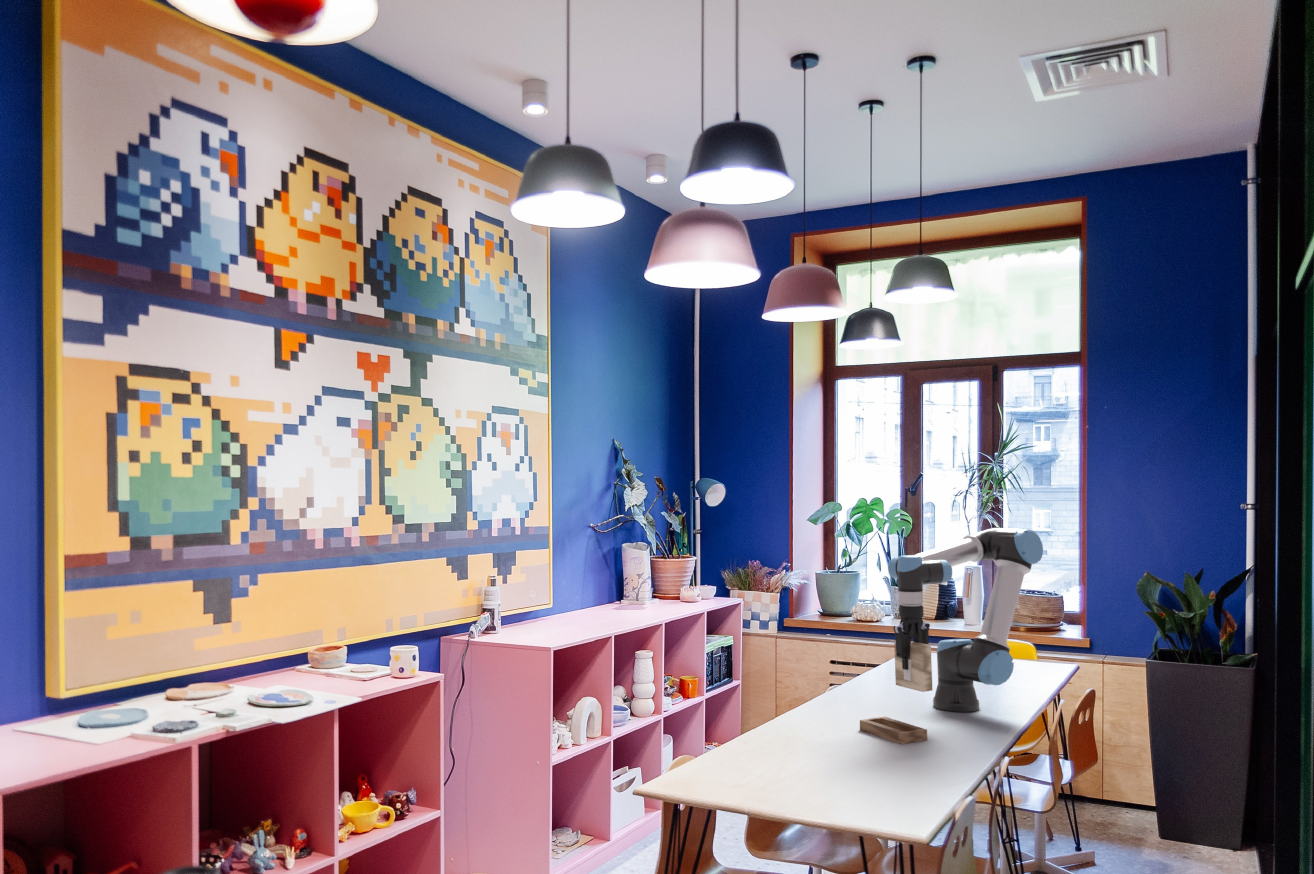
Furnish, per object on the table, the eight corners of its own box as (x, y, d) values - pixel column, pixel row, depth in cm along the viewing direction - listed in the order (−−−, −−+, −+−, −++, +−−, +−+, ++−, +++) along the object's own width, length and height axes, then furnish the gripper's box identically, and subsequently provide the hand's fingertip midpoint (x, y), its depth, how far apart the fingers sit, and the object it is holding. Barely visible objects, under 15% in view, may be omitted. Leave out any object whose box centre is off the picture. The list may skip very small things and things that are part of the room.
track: (884, 726, 288) (884, 716, 288) (927, 739, 271) (927, 729, 272) (859, 729, 283) (859, 720, 283) (901, 744, 267) (901, 733, 267)
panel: (905, 683, 295) (903, 639, 296) (932, 690, 284) (931, 644, 285) (895, 684, 293) (894, 640, 294) (922, 691, 282) (921, 646, 283)
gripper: (922, 601, 297) (925, 673, 296) (882, 605, 289) (884, 680, 288) (939, 603, 291) (942, 677, 289) (898, 607, 283) (901, 684, 281)
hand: (913, 678), depth 289 cm, fingers closed on panel, 4 cm apart
